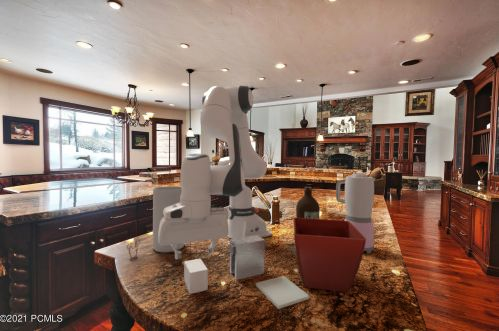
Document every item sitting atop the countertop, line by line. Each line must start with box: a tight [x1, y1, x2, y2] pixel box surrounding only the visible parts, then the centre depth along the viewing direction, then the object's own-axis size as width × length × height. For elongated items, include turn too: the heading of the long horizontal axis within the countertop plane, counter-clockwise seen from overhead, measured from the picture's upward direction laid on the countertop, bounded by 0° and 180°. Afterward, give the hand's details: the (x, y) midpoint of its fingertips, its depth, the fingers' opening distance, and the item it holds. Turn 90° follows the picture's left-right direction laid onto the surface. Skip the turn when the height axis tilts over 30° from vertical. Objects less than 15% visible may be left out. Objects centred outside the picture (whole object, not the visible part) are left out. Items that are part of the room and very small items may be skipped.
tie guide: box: [229, 235, 265, 281], centre depth 77 cm, size 10×5×11 cm, turn 117°
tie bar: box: [229, 241, 267, 255], centre depth 77 cm, size 12×2×2 cm, turn 117°
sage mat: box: [255, 275, 310, 310], centre depth 66 cm, size 10×12×1 cm
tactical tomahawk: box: [283, 242, 297, 259], centre depth 93 cm, size 21×7×1 cm, turn 2°
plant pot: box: [293, 217, 366, 293], centre depth 73 cm, size 19×19×17 cm
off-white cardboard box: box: [183, 258, 209, 295], centre depth 69 cm, size 5×8×6 cm, turn 27°
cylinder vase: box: [152, 185, 185, 253], centre depth 98 cm, size 12×12×25 cm
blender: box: [335, 173, 377, 254], centre depth 101 cm, size 16×12×32 cm
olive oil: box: [295, 186, 321, 219], centre depth 108 cm, size 11×11×25 cm
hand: (194, 255), depth 69 cm, fingers open, 8 cm apart
